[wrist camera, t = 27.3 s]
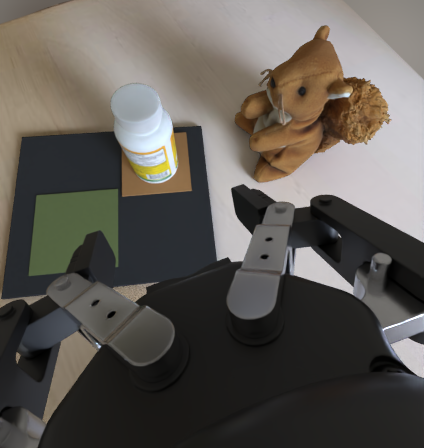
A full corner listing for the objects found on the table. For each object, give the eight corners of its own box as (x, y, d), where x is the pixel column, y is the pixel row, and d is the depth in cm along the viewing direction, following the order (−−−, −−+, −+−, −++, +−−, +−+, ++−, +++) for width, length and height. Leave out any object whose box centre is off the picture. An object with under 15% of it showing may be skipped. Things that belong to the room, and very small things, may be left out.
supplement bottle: (161, 193, 27) (141, 142, 18) (124, 170, 28) (86, 109, 19) (187, 158, 29) (181, 95, 19) (151, 137, 29) (128, 66, 20)
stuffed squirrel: (228, 118, 31) (247, 1, 19) (328, 110, 33) (409, -5, 20) (240, 186, 29) (272, 103, 16) (349, 175, 30) (458, 89, 17)
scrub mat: (5, 299, 24) (-1, 299, 23) (25, 140, 29) (20, 135, 28) (218, 275, 26) (218, 274, 25) (201, 128, 31) (201, 124, 30)
